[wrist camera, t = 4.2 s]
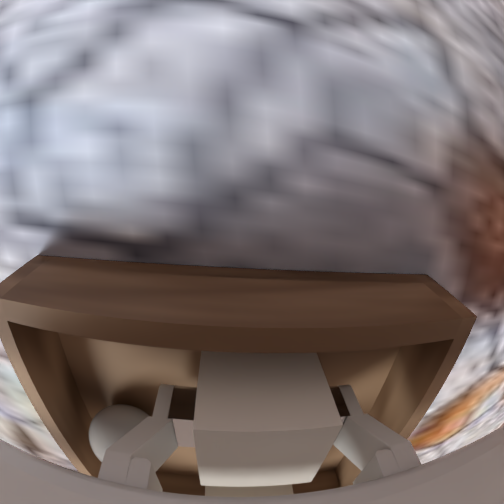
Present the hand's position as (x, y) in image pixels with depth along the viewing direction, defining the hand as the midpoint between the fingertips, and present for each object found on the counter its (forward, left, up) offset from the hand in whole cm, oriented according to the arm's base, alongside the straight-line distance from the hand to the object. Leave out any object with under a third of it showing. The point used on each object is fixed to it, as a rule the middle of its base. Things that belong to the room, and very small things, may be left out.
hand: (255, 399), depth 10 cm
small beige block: (0, 0, -1) cm, 1 cm away
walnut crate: (+3, -1, -2) cm, 4 cm away
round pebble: (+3, -6, -1) cm, 6 cm away
